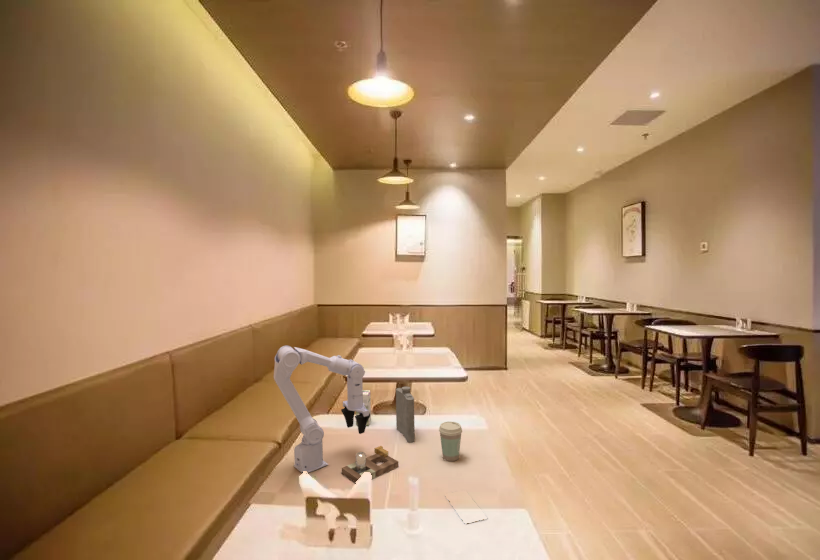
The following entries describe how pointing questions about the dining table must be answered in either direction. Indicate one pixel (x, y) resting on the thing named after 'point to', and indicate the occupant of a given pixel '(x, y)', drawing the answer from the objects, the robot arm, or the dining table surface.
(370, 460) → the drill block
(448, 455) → the coffee cup
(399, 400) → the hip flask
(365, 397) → the syrup box
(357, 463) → the frosted round dowel plug
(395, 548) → the dining table surface
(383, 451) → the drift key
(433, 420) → the dining table surface
